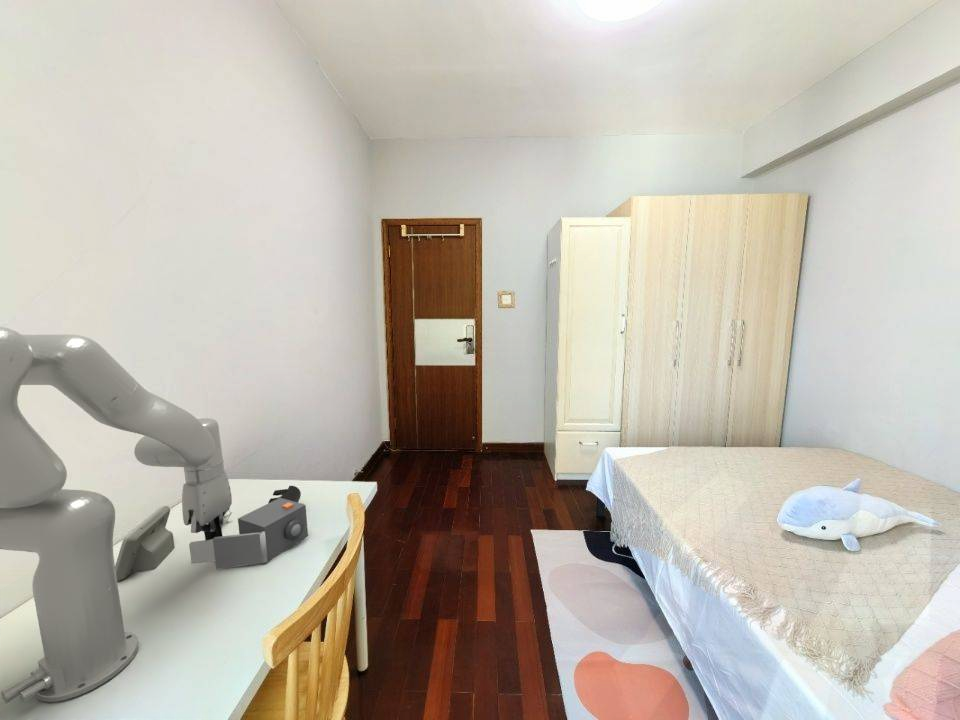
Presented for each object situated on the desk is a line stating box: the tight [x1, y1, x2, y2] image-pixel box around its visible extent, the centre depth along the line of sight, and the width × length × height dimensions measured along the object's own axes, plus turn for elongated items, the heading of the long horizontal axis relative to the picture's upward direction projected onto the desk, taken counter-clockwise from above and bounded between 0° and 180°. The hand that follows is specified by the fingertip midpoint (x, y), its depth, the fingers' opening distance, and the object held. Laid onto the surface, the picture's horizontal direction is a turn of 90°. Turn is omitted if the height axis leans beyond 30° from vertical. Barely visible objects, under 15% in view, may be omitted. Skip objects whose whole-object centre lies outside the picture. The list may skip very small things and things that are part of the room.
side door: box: [188, 531, 269, 570], centre depth 93 cm, size 1×16×8 cm, turn 101°
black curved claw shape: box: [267, 485, 302, 504], centre depth 118 cm, size 10×7×7 cm
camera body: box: [237, 497, 309, 563], centre depth 102 cm, size 12×11×10 cm
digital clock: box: [115, 505, 175, 582], centre depth 96 cm, size 16×9×11 cm, turn 1°
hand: (214, 543), depth 94 cm, fingers closed
